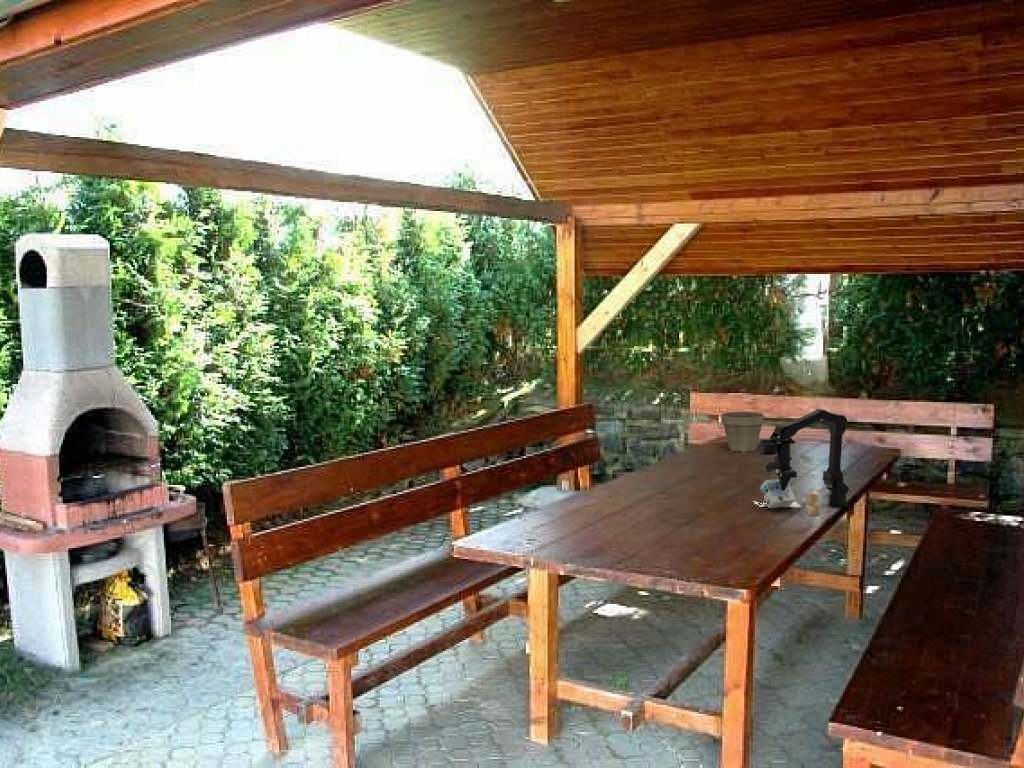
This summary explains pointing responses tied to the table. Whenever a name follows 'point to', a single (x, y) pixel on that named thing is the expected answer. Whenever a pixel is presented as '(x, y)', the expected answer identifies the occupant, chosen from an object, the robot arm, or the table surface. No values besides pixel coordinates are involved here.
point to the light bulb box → (777, 494)
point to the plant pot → (742, 429)
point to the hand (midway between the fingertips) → (783, 490)
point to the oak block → (812, 503)
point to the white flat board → (785, 506)
